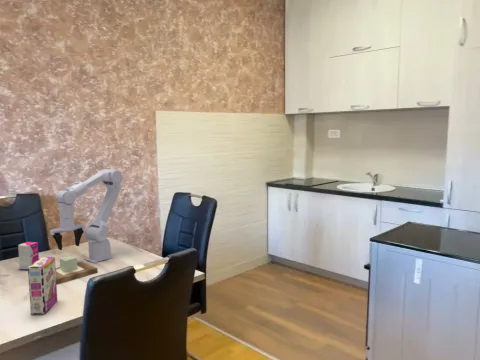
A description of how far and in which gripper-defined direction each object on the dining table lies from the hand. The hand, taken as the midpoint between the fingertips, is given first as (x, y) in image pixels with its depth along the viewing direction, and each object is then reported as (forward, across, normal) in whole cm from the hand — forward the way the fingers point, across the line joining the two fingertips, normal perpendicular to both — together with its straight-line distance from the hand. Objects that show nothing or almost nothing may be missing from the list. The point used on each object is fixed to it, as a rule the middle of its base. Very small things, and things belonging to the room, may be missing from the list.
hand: (69, 247), depth 174 cm
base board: (+9, +4, +8) cm, 13 cm away
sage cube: (+7, +4, +8) cm, 11 cm away
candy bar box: (+10, +24, +33) cm, 42 cm away
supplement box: (+10, +12, -14) cm, 21 cm away
